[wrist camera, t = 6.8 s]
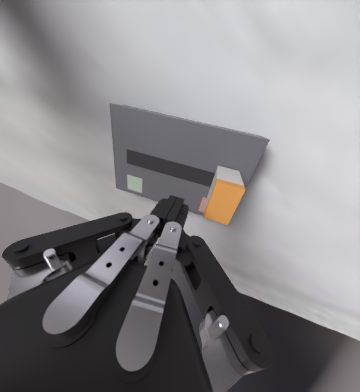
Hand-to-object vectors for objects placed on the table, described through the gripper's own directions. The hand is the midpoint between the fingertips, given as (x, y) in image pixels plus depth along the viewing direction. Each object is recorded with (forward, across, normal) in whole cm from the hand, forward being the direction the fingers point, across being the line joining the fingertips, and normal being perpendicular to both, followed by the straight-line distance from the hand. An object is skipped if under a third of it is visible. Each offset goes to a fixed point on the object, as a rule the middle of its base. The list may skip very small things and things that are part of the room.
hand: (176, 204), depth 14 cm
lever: (+8, -5, 0) cm, 10 cm away
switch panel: (+13, +3, 0) cm, 13 cm away
